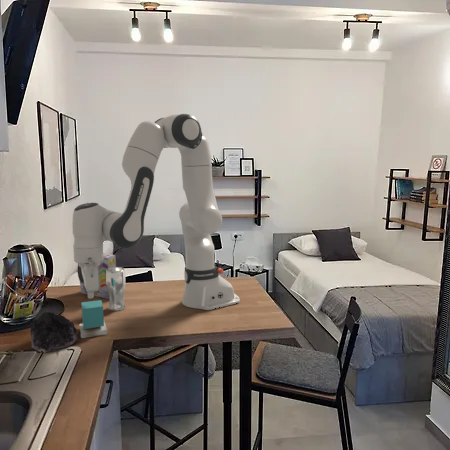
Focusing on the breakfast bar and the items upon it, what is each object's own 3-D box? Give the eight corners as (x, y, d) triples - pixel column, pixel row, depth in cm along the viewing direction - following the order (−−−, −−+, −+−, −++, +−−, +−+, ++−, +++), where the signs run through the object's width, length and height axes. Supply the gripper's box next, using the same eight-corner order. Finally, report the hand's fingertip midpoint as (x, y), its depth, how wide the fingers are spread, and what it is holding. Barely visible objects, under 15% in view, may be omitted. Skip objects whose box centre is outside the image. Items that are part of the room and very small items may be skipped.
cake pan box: (77, 292, 170) (75, 251, 167) (87, 289, 175) (85, 249, 172) (110, 301, 160) (108, 257, 157) (119, 297, 165) (117, 254, 162)
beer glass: (121, 312, 149) (119, 272, 146) (103, 310, 150) (101, 271, 148) (129, 305, 156) (128, 267, 153) (112, 304, 157) (110, 266, 154)
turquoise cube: (102, 318, 137) (101, 300, 135) (104, 325, 131) (103, 306, 130) (82, 321, 134) (81, 302, 133) (83, 329, 129) (82, 309, 127)
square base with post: (104, 324, 138) (103, 300, 137) (107, 334, 131) (106, 308, 129) (79, 328, 135) (78, 303, 134) (81, 338, 128) (79, 312, 126)
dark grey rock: (75, 353, 120) (76, 319, 119) (25, 355, 116) (26, 321, 115) (78, 337, 133) (79, 307, 132) (32, 338, 129) (33, 307, 128)
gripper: (102, 261, 120) (104, 306, 122) (96, 247, 139) (97, 286, 141) (80, 263, 118) (82, 309, 120) (76, 248, 136) (78, 288, 139)
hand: (90, 296), depth 131 cm, fingers closed
